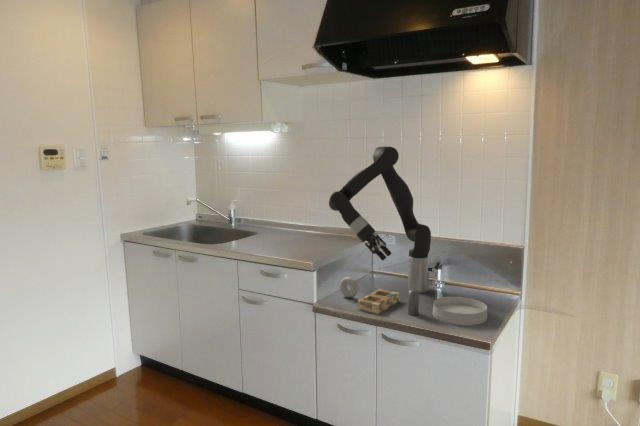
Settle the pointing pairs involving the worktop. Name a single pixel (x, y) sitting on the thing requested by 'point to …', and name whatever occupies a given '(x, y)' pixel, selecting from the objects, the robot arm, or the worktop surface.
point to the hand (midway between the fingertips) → (387, 257)
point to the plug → (413, 302)
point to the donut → (353, 287)
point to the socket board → (378, 301)
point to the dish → (460, 310)
